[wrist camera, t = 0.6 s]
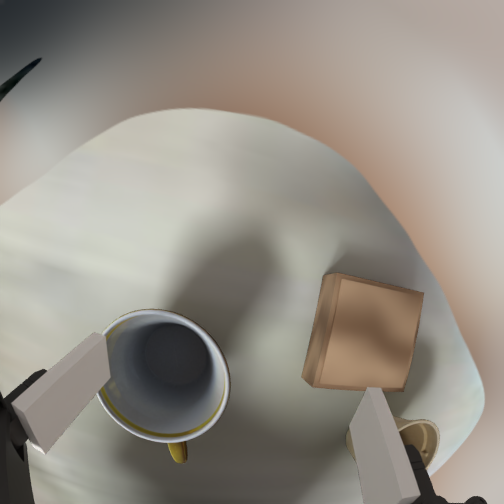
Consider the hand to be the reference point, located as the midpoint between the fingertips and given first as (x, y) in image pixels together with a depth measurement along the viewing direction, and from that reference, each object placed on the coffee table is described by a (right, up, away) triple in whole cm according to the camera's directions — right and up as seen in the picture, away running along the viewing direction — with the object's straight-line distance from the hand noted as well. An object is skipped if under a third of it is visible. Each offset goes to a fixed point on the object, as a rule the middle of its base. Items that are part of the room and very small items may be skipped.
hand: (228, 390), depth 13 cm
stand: (+13, -3, +17) cm, 21 cm away
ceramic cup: (-6, -5, +14) cm, 17 cm away
